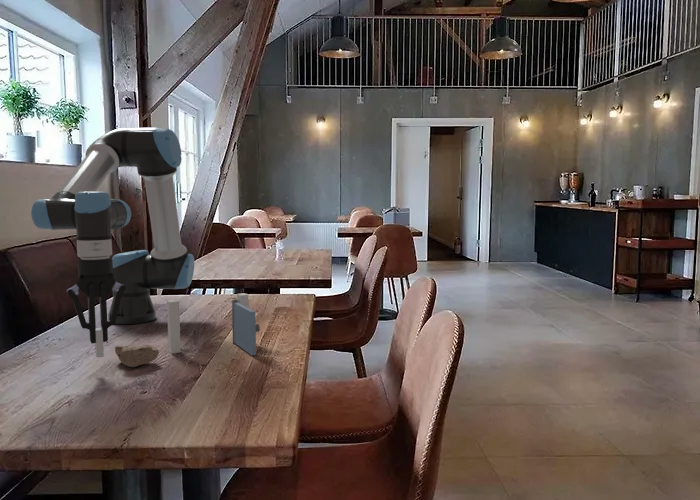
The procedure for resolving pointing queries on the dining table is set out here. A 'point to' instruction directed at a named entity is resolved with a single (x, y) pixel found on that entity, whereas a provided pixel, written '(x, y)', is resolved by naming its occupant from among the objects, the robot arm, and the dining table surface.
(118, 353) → the stone
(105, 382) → the dining table surface
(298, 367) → the dining table surface
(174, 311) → the pair of grey bars
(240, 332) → the door
